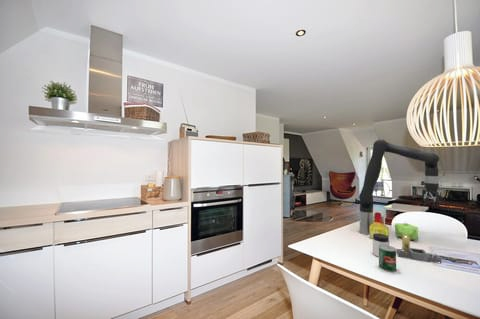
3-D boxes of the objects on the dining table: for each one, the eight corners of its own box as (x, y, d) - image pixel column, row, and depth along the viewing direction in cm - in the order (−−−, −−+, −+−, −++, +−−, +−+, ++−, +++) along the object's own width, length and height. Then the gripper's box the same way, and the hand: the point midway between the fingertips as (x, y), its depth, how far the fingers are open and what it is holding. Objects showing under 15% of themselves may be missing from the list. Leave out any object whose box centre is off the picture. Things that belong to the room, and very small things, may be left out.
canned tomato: (390, 273, 112) (390, 252, 112) (375, 266, 119) (375, 246, 119) (399, 269, 115) (399, 249, 115) (384, 263, 122) (384, 244, 122)
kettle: (417, 243, 149) (417, 227, 149) (392, 238, 159) (392, 223, 159) (419, 238, 160) (419, 223, 160) (396, 233, 170) (396, 219, 170)
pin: (403, 252, 136) (402, 236, 136) (401, 249, 140) (401, 234, 140) (410, 253, 135) (410, 237, 135) (409, 250, 138) (408, 235, 138)
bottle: (368, 238, 160) (368, 211, 160) (370, 236, 164) (370, 210, 164) (387, 243, 151) (387, 214, 151) (389, 240, 155) (389, 213, 155)
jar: (374, 257, 130) (374, 237, 130) (370, 251, 138) (370, 232, 138) (391, 259, 127) (391, 238, 127) (387, 253, 135) (386, 234, 135)
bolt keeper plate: (398, 257, 129) (398, 250, 129) (396, 252, 136) (396, 245, 136) (441, 264, 120) (441, 256, 120) (436, 258, 127) (436, 251, 127)
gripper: (418, 181, 157) (418, 203, 157) (433, 183, 142) (433, 207, 143) (429, 181, 156) (429, 203, 156) (446, 183, 142) (445, 208, 142)
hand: (431, 205), depth 149 cm, fingers open, 8 cm apart
